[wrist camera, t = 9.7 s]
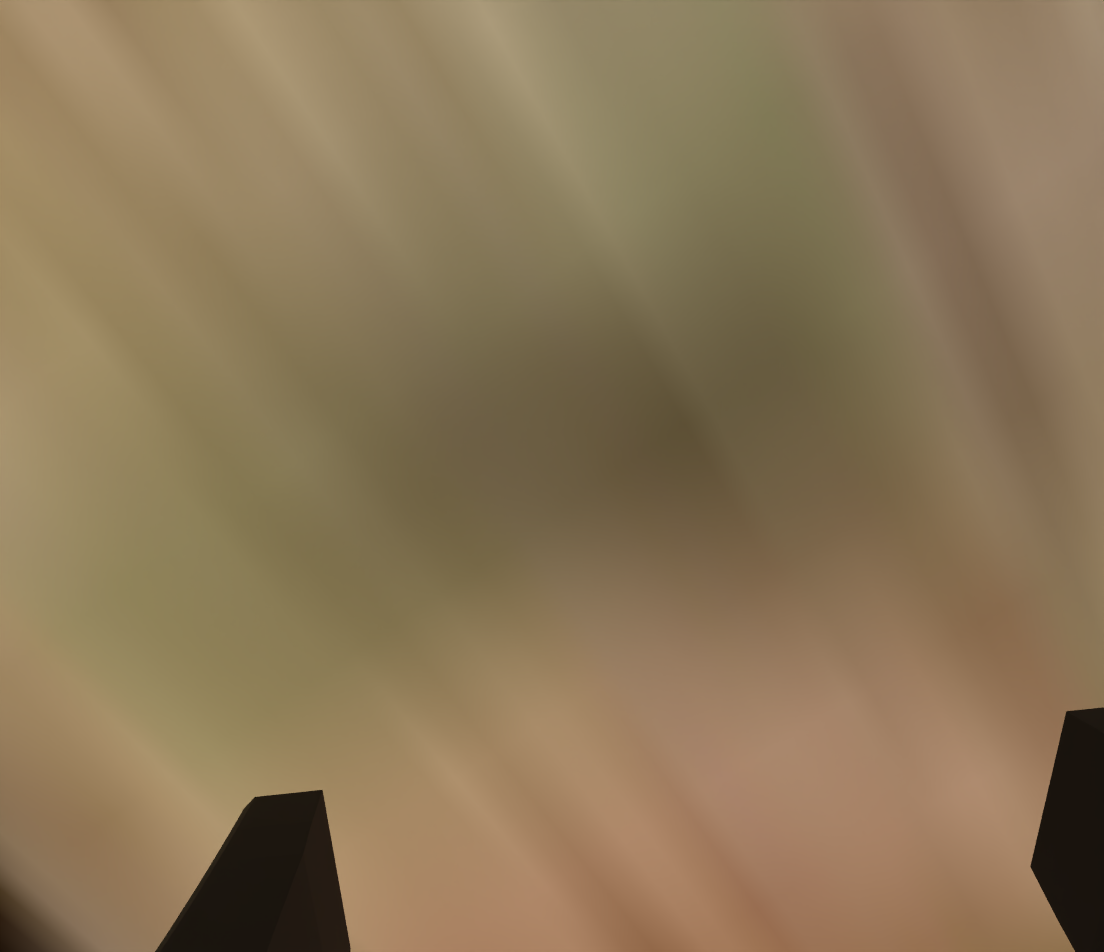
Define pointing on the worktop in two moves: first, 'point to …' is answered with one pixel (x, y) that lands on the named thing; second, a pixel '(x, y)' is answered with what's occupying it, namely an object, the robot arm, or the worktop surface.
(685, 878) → the worktop surface
